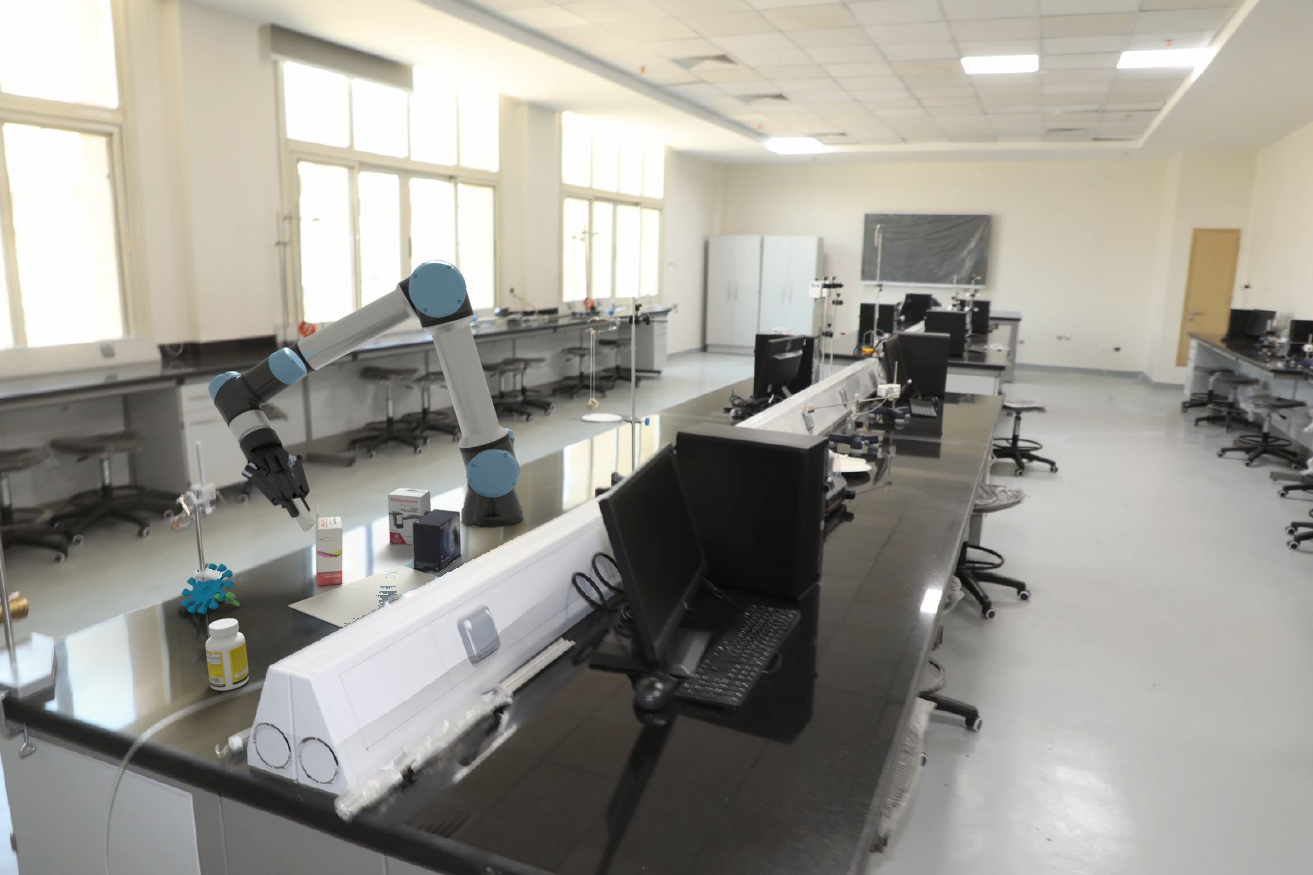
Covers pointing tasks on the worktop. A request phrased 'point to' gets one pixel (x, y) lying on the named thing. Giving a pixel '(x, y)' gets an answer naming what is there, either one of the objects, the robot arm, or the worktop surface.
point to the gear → (209, 592)
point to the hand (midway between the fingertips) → (309, 527)
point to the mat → (360, 595)
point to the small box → (436, 540)
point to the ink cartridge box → (328, 550)
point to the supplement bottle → (226, 655)
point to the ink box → (406, 512)
